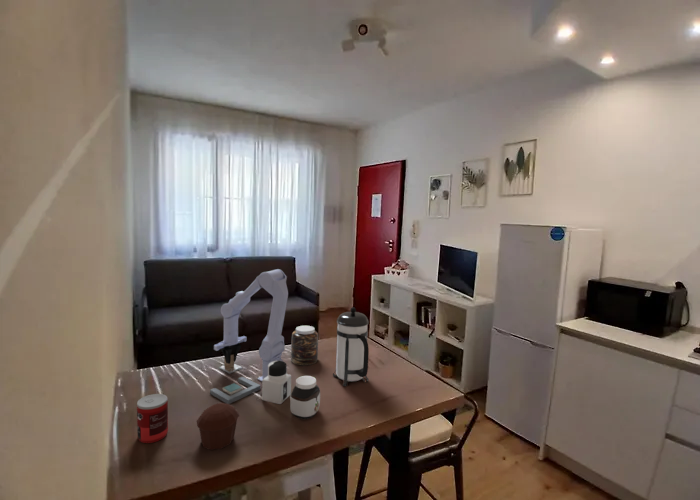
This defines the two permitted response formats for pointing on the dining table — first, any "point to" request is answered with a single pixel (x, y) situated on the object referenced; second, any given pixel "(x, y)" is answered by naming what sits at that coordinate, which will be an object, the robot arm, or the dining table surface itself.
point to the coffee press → (352, 347)
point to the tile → (232, 388)
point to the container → (276, 383)
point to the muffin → (217, 425)
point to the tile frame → (229, 399)
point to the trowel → (230, 366)
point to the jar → (304, 345)
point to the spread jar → (305, 398)
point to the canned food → (152, 418)
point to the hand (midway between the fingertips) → (230, 361)
